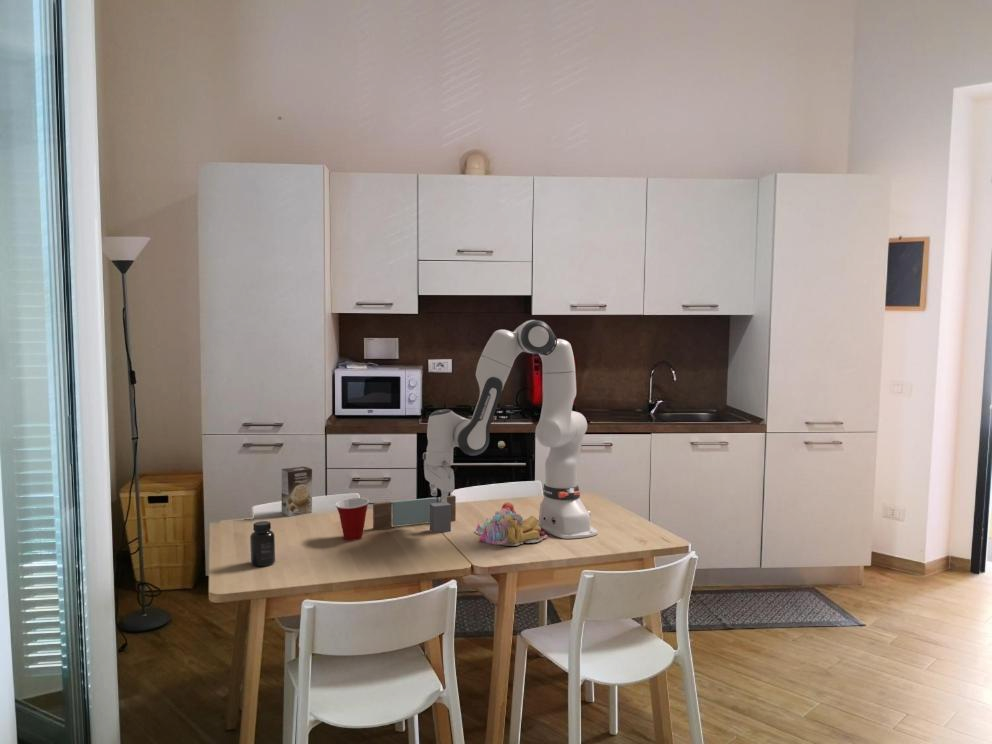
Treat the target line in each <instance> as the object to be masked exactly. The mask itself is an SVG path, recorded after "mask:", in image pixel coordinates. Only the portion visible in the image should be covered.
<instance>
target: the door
mask: <svg viewBox="0 0 992 744" xmlns="http://www.w3.org/2000/svg"><path fill="white" fill-rule="evenodd" d="M440 497H441V496H439V497H437V496H434V497H426V498H416V499H407V500H406V499H404V500H394V501H391V503H392V527H397V526H399V527H400V526H407V525H416V524H426V523H430V504H431V503H441V502H440Z"/></svg>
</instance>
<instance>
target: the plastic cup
mask: <svg viewBox="0 0 992 744" xmlns="http://www.w3.org/2000/svg"><path fill="white" fill-rule="evenodd" d="M369 503H370V500H369V499H368V498H365V497H353V498H345V499H340V500H338V501H337V502H335V504H334V506H335V507H336V509H337V512H338V515H339V519H340V526H341V529H342V535H343V539H345V540H347V541H357V540H361V539H362V538H363V533H364V530H365V521H366V516H367V511H368V505H369Z"/></svg>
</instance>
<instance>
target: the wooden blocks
mask: <svg viewBox="0 0 992 744" xmlns="http://www.w3.org/2000/svg"><path fill="white" fill-rule="evenodd" d="M456 499H457V497H456V495H448V497H447V503H449V504H450V505H451V522H456V519H457V518H456V510H457V509H456V507H457V506H456V504H457V502H456V501H457V500H456ZM372 528H373V530H381V529H382V530H383V529H392V528H393V525H392V501H382V502H373V504H372Z"/></svg>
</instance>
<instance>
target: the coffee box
mask: <svg viewBox="0 0 992 744" xmlns="http://www.w3.org/2000/svg"><path fill="white" fill-rule="evenodd" d="M281 513H282V514H284V515H286V516H287V517H294V516H300V515H305V514H306V515H307V514H312V513H313V468H311V467H308V466H296V467H295V466H293V467H287V468H281Z"/></svg>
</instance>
